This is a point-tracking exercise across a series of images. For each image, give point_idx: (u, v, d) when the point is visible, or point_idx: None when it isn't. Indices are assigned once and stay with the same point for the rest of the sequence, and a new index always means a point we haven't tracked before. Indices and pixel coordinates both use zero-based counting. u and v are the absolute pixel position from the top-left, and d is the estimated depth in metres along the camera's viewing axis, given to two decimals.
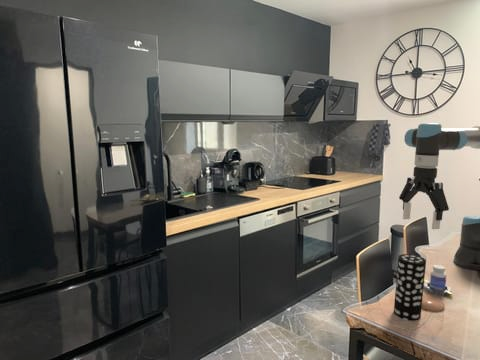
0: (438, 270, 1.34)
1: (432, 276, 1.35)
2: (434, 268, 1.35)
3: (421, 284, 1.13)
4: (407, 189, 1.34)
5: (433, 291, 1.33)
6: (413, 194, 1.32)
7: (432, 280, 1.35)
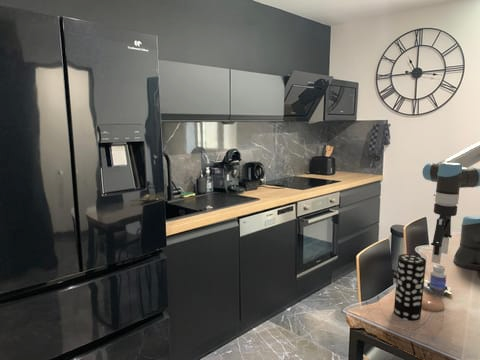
0: (438, 270, 1.34)
1: (432, 276, 1.35)
2: (434, 268, 1.35)
3: (421, 284, 1.13)
4: None
5: (433, 291, 1.33)
6: None
7: (432, 280, 1.35)
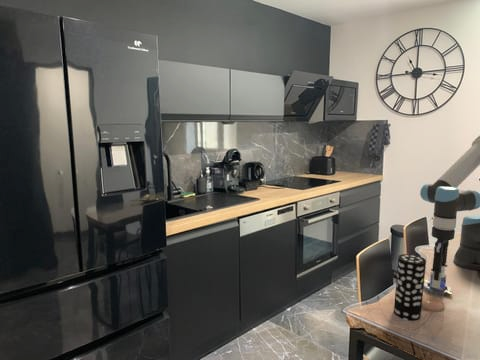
0: None
1: (432, 276, 1.35)
2: None
3: (421, 284, 1.13)
4: None
5: (433, 291, 1.33)
6: None
7: None
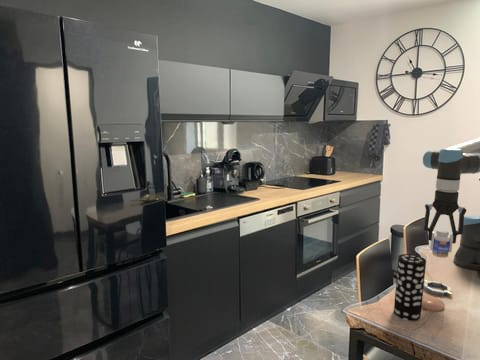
0: (436, 232, 1.33)
1: None
2: None
3: (421, 284, 1.13)
4: (459, 219, 1.30)
5: (433, 291, 1.33)
6: (450, 222, 1.31)
7: None
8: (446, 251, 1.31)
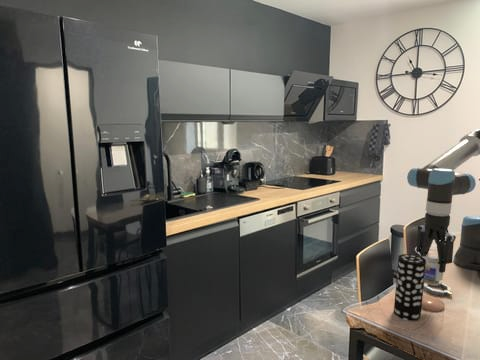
0: None
1: None
2: None
3: (421, 284, 1.13)
4: None
5: (433, 291, 1.33)
6: None
7: None
8: (430, 278, 1.22)
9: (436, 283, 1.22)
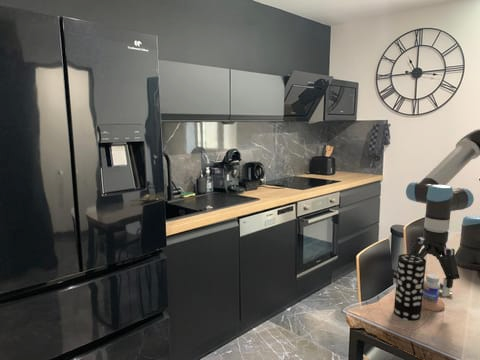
0: None
1: None
2: None
3: (421, 284, 1.13)
4: None
5: None
6: None
7: None
8: (429, 297, 1.23)
9: (435, 302, 1.23)
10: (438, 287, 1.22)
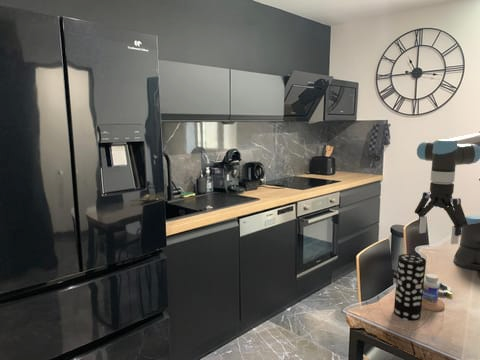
0: None
1: None
2: None
3: (421, 284, 1.13)
4: None
5: None
6: None
7: None
8: (429, 297, 1.23)
9: (434, 302, 1.23)
10: (437, 287, 1.22)
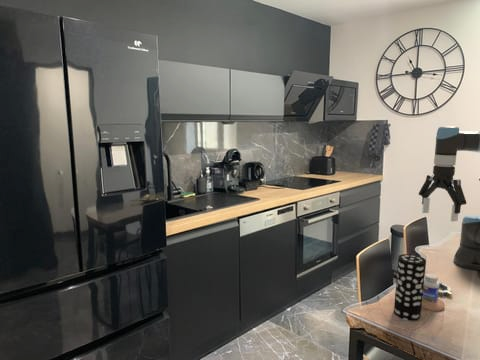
0: None
1: None
2: None
3: (421, 284, 1.13)
4: None
5: None
6: None
7: None
8: (428, 297, 1.23)
9: (434, 302, 1.23)
10: (437, 287, 1.22)
